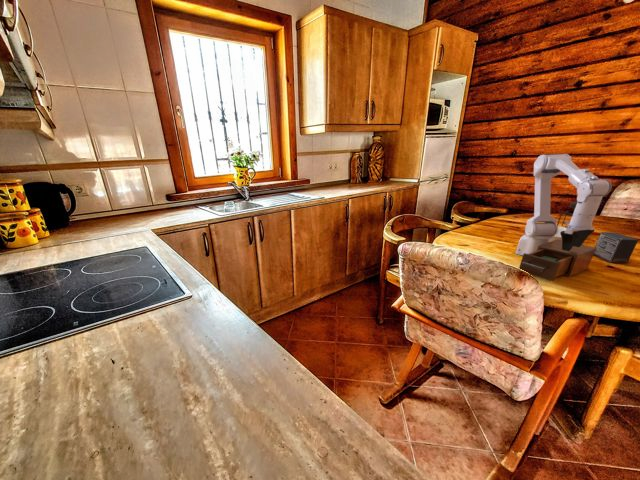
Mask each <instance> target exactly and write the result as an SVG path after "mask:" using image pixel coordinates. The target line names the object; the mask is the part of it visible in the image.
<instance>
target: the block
mask: <svg viewBox="0 0 640 480" xmlns="http://www.w3.org/2000/svg"><path fill="white" fill-rule="evenodd" d="M541 258H545V259H549V260H552V261H556V262H557V261H558V259H555V258H551V257H547V256H543V257H541Z"/></svg>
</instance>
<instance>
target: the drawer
mask: <svg viewBox="0 0 640 480" xmlns="http://www.w3.org/2000/svg"><path fill="white" fill-rule="evenodd" d="M543 256H547V257H551V258H555V259H558V261H557V262H556V261H552V260H549V259H545V258H541V257H543ZM573 259H574V256H570V255H566V254H562V253H558V252H554V251H550V250H546V249H541V250H538V251H535V252H532V253H529V254H527V253H524V254H523V256H522V257H521V261H520V264H519V267H518V269H519V268H520V269H522V270H524V271H526V272H528V273H527V274H530V275H532V276H535V277H539V278H542V279H545V280H548V281H551V282H554V281H555V279H556V278H557V277H559V276H563V275H562V274H564V273H567V272H568V271H569V269H570V266H571V264H572V261H573ZM526 272H525V273H526Z"/></svg>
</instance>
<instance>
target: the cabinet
mask: <svg viewBox="0 0 640 480" xmlns="http://www.w3.org/2000/svg"><path fill="white" fill-rule="evenodd" d="M594 247H595V246H589V245H585V244H582V245H581V246H580V247H575V246H573V247H572V249H571V250H570V251H565V250H562V240H554V241H551V242H548V243H545V244H542V245H539V246H538V248H537V251H538V250H541V249H546V250H550V251H554V252H558V253H562V254H566V255H570V256H574V259H573V261H572V264H571V266H570V269H569V271H568V272H567V273H564V274H562V275H561V276H566V277H568V278H569V277H572V276H574V275H576V274H579V273H581V272H583V271H585V270H588V269H589V266H590V265H591V262H592V259H593V257H594V256H595V255H594V252H595V250H596V248H594Z"/></svg>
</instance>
